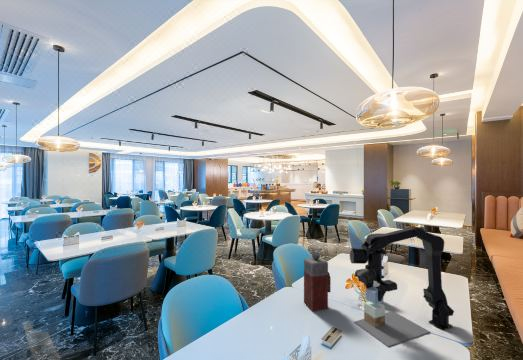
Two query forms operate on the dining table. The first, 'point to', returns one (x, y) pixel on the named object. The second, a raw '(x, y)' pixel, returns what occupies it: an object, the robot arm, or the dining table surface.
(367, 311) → the tower mid
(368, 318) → the tower base
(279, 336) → the dining table surface
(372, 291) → the cube
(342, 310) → the dining table surface
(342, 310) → the dining table surface
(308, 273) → the dark red bottle
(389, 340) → the placemat
